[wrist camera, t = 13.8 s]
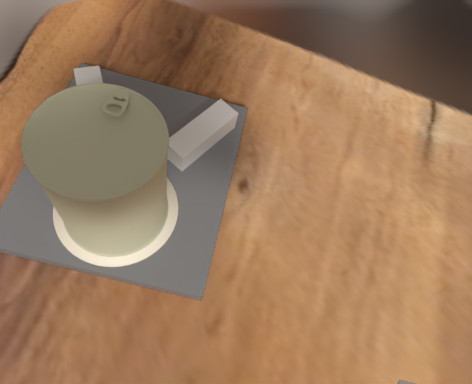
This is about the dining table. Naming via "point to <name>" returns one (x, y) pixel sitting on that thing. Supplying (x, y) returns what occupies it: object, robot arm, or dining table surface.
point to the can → (101, 165)
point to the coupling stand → (178, 194)
